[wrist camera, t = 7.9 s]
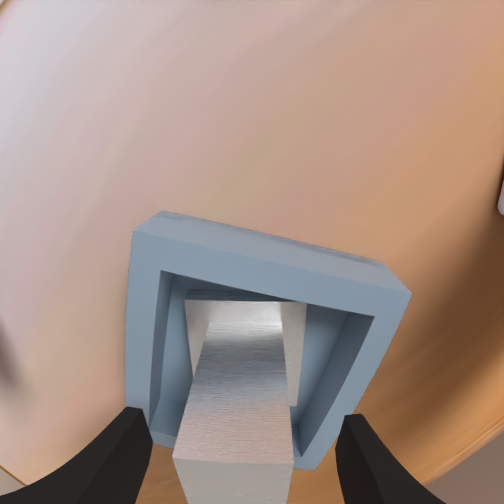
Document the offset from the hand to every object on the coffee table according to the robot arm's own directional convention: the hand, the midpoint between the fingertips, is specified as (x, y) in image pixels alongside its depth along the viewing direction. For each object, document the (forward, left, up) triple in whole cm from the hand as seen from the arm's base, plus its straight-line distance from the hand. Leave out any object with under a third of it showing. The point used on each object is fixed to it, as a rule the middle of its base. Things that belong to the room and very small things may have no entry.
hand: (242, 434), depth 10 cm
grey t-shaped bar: (0, 0, -5) cm, 5 cm away
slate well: (0, 0, -6) cm, 6 cm away
